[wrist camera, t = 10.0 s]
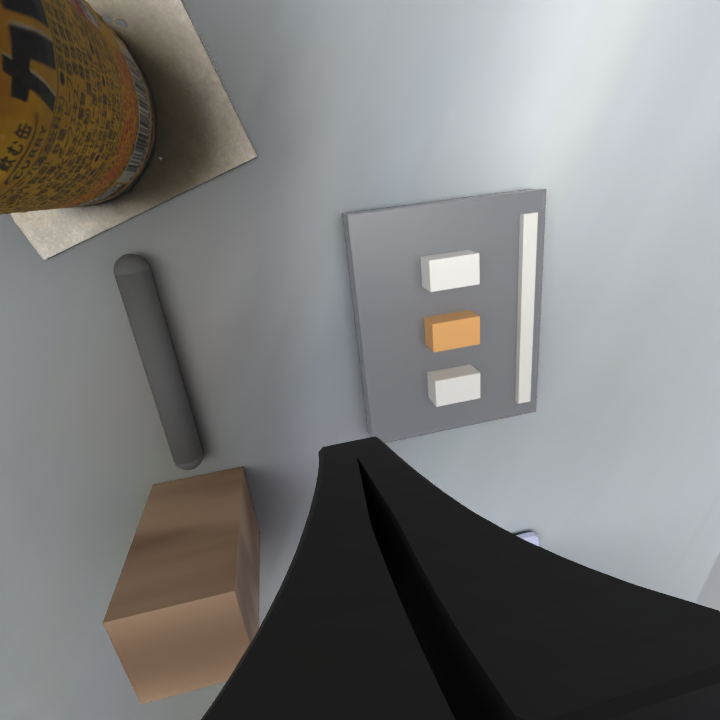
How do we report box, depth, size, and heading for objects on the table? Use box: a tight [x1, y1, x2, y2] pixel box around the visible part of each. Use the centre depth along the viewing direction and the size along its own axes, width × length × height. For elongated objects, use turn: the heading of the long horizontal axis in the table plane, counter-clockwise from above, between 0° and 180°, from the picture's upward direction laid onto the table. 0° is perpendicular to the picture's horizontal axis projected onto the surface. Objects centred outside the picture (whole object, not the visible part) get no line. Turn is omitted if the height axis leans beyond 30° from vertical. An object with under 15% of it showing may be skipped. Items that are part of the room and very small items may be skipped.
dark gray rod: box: [114, 254, 203, 470], centre depth 18 cm, size 9×1×1 cm, turn 6°
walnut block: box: [103, 466, 260, 704], centre depth 18 cm, size 4×4×7 cm
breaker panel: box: [342, 189, 546, 443], centre depth 19 cm, size 10×8×2 cm
